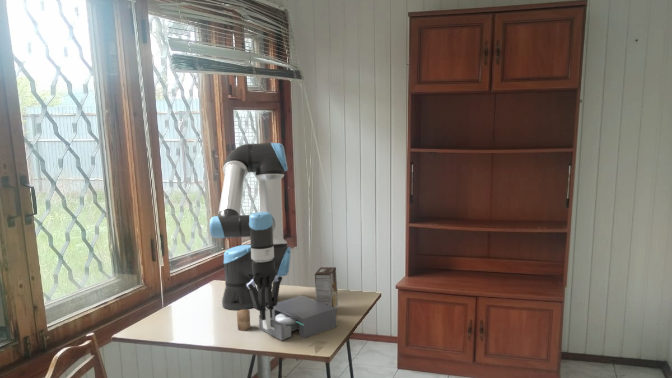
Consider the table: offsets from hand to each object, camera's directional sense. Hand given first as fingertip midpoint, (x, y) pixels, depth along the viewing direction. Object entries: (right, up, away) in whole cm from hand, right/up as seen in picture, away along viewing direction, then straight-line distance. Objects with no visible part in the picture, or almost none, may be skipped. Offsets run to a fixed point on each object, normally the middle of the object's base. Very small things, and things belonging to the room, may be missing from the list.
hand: (266, 328), depth 165 cm
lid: (+6, +1, +5) cm, 8 cm away
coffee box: (+20, 0, +21) cm, 29 cm away
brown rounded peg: (-9, -2, +8) cm, 12 cm away
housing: (+12, -1, +10) cm, 15 cm away
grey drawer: (+6, -2, +5) cm, 8 cm away
